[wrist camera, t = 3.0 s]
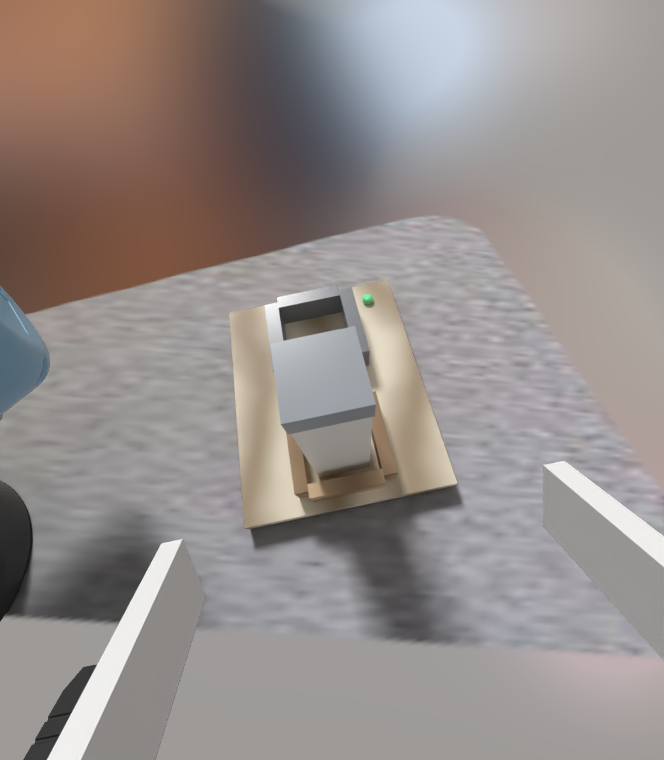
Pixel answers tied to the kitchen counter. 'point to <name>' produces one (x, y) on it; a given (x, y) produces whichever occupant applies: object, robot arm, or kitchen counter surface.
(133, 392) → the kitchen counter surface
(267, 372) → the board
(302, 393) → the plug
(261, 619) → the kitchen counter surface
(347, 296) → the port
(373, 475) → the holster
